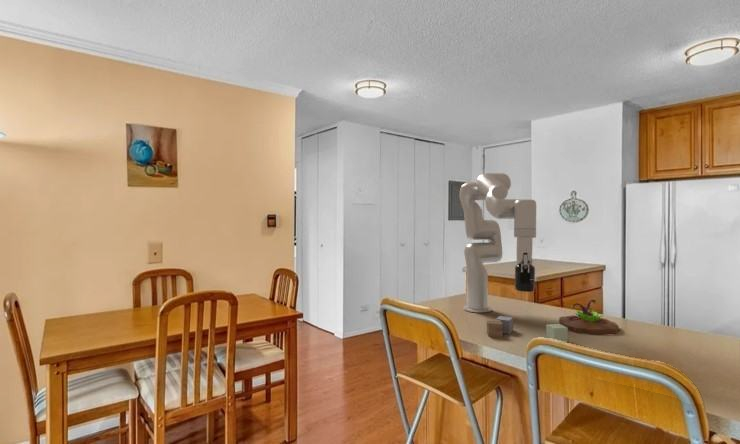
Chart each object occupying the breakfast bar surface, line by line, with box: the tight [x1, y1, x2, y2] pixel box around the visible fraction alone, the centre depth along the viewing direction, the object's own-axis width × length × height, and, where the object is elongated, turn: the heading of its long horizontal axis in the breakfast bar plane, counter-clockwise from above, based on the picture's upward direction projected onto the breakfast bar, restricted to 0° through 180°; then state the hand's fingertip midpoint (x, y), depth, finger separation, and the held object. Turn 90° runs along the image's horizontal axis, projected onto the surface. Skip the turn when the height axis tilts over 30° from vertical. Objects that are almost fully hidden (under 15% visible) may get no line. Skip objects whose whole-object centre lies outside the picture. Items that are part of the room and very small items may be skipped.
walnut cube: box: [486, 319, 504, 338], centre depth 145 cm, size 5×5×5 cm
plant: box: [558, 299, 620, 336], centre depth 153 cm, size 20×20×11 cm
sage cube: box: [545, 323, 569, 343], centre depth 138 cm, size 5×5×5 cm
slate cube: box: [495, 315, 514, 335], centre depth 149 cm, size 5×5×5 cm
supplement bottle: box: [514, 257, 536, 293], centre depth 143 cm, size 7×7×12 cm
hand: (524, 281), depth 143 cm, fingers closed on supplement bottle, 6 cm apart
